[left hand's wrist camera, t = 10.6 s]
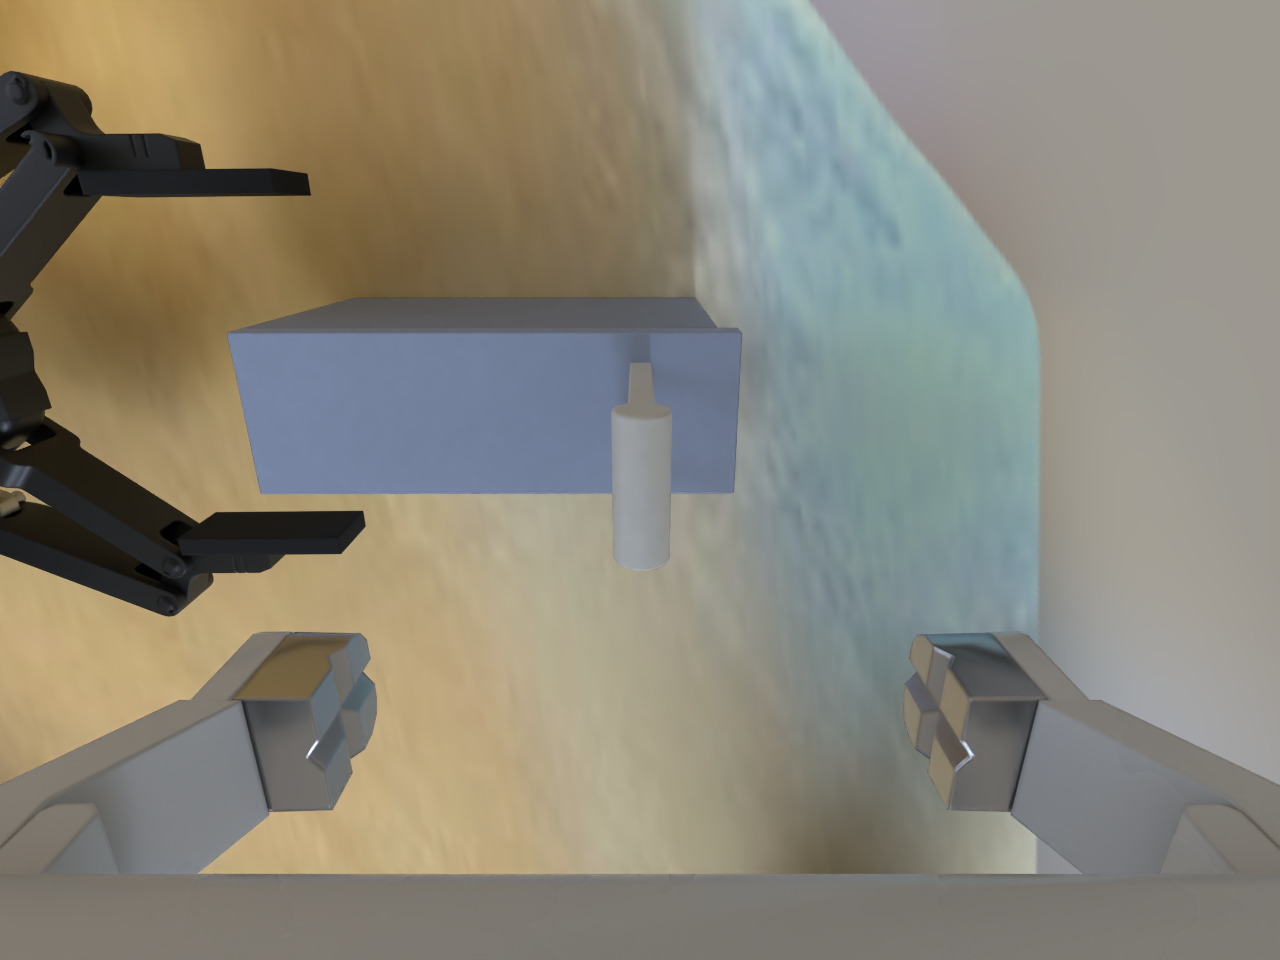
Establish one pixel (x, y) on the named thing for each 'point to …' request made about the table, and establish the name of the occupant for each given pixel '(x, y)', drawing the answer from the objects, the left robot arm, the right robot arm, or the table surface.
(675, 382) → the lid
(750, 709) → the table surface
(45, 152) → the right robot arm
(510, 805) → the table surface
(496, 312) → the chest
